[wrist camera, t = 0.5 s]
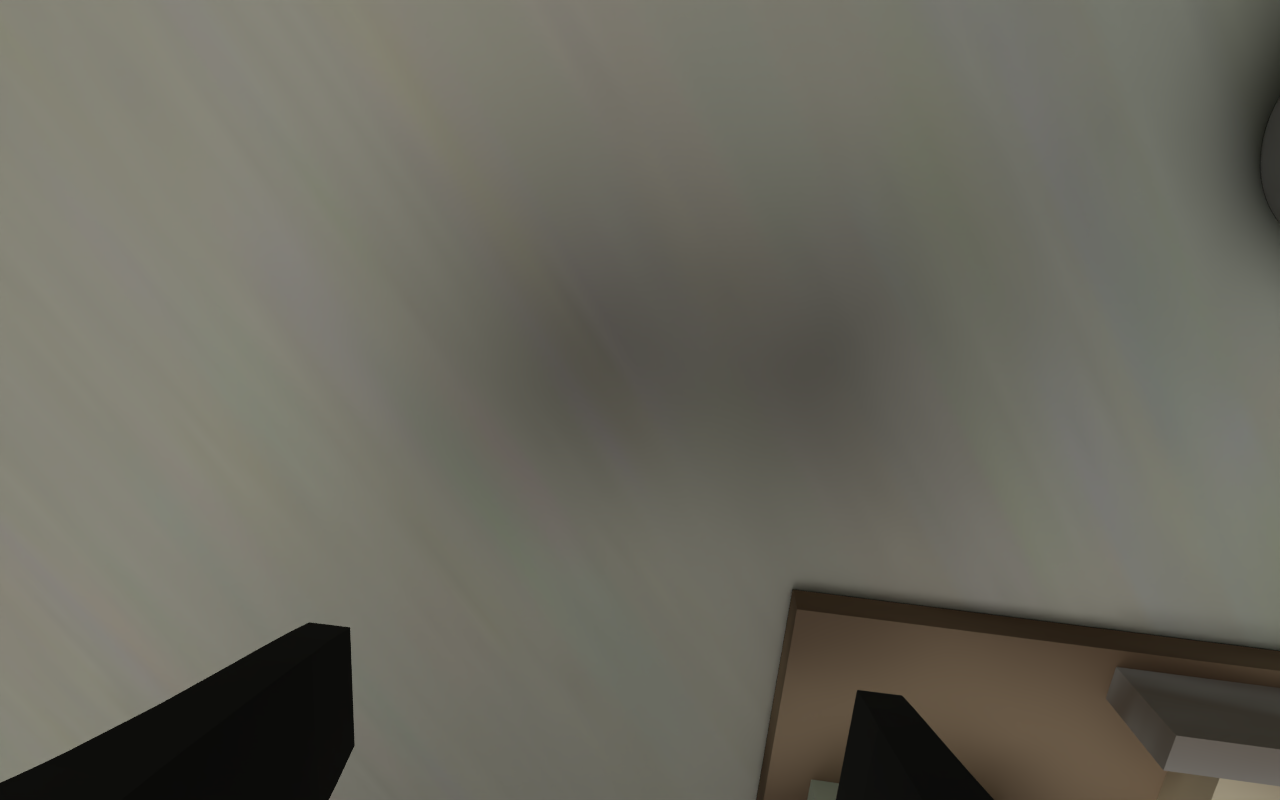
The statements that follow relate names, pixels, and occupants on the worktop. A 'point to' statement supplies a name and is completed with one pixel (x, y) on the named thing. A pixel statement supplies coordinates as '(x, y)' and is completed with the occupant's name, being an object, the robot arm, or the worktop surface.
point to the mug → (1272, 161)
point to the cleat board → (1028, 703)
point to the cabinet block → (822, 790)
